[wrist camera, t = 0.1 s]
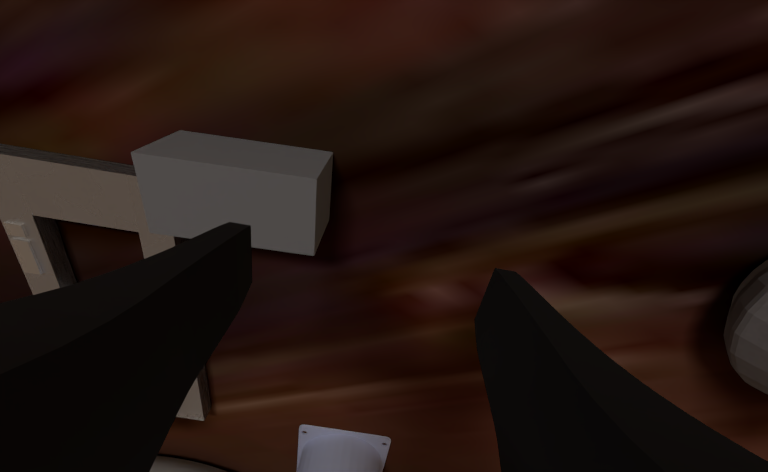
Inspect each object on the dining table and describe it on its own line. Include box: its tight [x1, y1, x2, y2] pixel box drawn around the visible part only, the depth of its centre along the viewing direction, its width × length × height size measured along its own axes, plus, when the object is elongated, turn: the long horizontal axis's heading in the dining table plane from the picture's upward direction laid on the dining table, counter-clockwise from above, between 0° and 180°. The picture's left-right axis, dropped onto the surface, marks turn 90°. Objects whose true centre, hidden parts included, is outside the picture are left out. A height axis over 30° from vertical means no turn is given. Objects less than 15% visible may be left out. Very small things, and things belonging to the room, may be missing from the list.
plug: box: [131, 130, 333, 256], centre depth 18 cm, size 8×4×4 cm, turn 83°
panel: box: [0, 144, 211, 421], centre depth 24 cm, size 21×10×1 cm, turn 171°
